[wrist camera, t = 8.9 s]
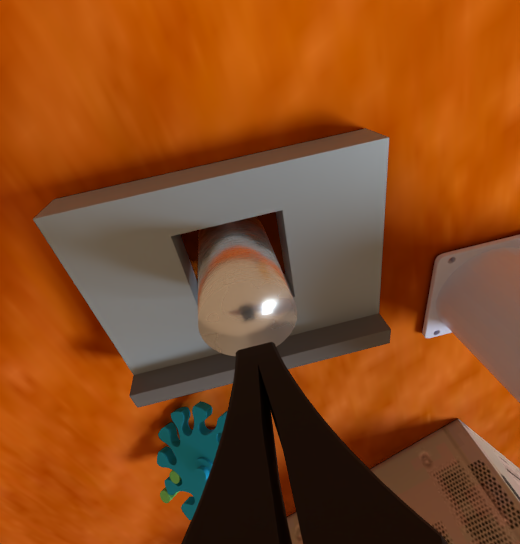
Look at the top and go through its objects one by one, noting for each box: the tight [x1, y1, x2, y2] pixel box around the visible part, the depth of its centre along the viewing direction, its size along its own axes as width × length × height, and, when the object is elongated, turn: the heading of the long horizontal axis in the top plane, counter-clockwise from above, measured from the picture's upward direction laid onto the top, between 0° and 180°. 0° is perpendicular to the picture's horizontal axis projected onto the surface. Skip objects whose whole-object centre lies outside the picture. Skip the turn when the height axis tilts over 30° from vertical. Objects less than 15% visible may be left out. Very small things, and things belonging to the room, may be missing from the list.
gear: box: [157, 401, 228, 520], centre depth 27 cm, size 11×6×10 cm
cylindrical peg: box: [198, 217, 297, 356], centre depth 15 cm, size 4×4×7 cm
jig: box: [33, 128, 391, 407], centre depth 18 cm, size 16×12×4 cm
